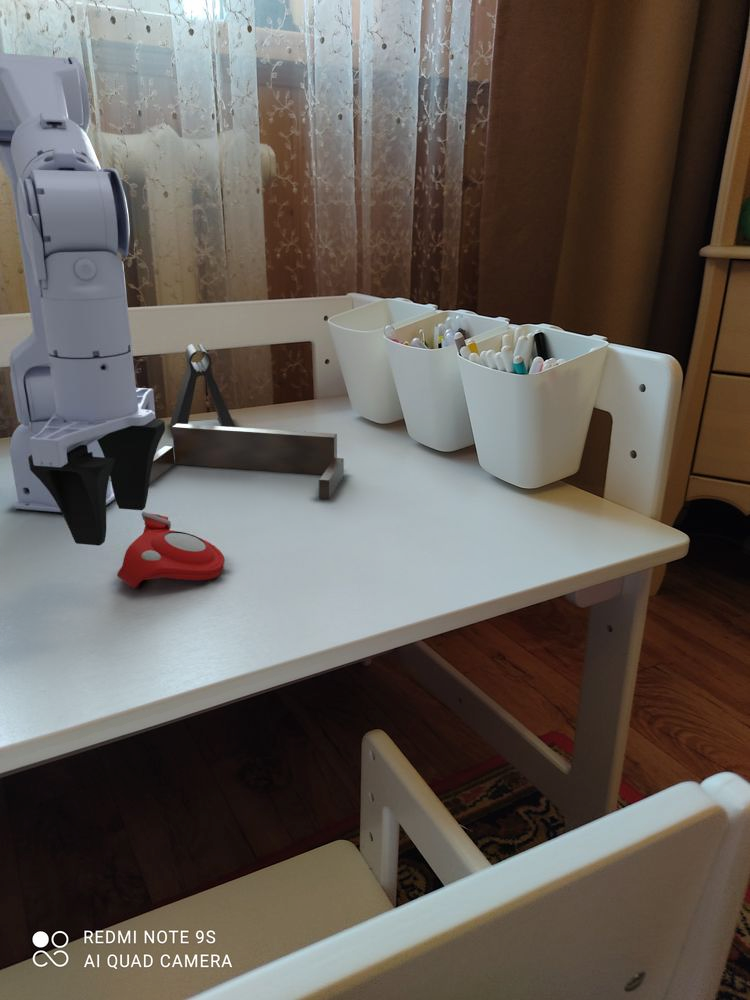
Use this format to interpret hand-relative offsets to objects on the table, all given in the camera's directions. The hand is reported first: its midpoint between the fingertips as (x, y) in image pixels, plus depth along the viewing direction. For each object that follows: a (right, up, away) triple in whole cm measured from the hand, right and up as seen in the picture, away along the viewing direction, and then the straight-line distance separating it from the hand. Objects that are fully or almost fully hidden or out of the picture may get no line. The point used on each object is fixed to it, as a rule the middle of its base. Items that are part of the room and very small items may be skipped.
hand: (112, 524), depth 60 cm
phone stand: (-5, +12, +54) cm, 55 cm away
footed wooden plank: (+5, +5, +34) cm, 35 cm away
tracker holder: (+2, -4, +12) cm, 13 cm away
